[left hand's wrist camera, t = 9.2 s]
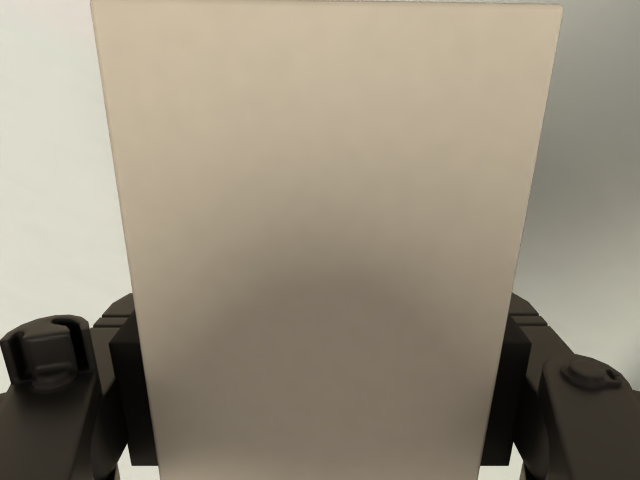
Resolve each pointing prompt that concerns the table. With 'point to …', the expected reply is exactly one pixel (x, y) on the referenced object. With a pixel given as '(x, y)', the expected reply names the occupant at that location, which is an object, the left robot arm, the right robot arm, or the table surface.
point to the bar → (323, 224)
